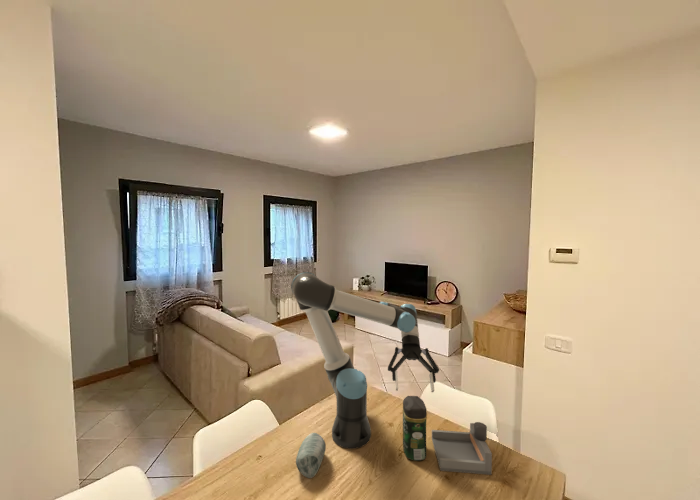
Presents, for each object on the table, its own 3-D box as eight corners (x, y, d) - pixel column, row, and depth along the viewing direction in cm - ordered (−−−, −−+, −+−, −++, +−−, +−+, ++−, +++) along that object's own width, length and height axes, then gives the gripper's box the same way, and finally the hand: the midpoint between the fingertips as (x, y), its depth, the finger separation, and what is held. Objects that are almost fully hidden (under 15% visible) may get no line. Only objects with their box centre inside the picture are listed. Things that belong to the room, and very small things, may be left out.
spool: (322, 476, 85) (310, 441, 88) (295, 487, 87) (285, 452, 90) (335, 455, 98) (325, 425, 101) (312, 464, 99) (302, 434, 102)
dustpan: (440, 470, 92) (440, 437, 91) (431, 438, 107) (431, 410, 106) (494, 475, 90) (495, 441, 90) (478, 442, 105) (478, 413, 105)
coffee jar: (400, 442, 105) (401, 393, 104) (422, 442, 105) (422, 393, 104) (405, 462, 95) (405, 408, 95) (428, 462, 95) (429, 408, 95)
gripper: (438, 342, 124) (446, 394, 110) (381, 340, 126) (381, 391, 112) (441, 335, 118) (450, 388, 104) (381, 333, 121) (382, 385, 106)
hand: (414, 390), depth 108 cm, fingers open, 13 cm apart
